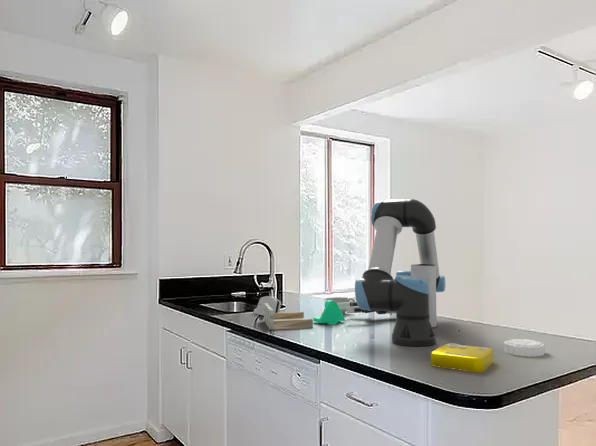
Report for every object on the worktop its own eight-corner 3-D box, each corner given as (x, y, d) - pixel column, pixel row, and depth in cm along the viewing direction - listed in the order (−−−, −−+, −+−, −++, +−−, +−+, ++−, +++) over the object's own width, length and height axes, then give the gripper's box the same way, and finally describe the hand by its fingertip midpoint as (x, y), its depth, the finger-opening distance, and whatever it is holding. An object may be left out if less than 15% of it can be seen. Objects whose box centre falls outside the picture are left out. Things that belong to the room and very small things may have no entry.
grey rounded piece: (252, 313, 255) (258, 293, 257) (260, 315, 258) (265, 296, 260) (270, 317, 241) (275, 296, 244) (277, 319, 244) (283, 299, 246)
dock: (312, 327, 211) (312, 308, 212) (270, 329, 208) (269, 310, 209) (303, 319, 233) (302, 302, 233) (264, 321, 230) (264, 303, 230)
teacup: (324, 315, 245) (324, 298, 246) (329, 311, 256) (329, 295, 256) (352, 315, 241) (352, 299, 242) (356, 312, 252) (356, 296, 252)
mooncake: (514, 347, 171) (514, 336, 171) (551, 352, 162) (551, 341, 162) (497, 352, 163) (497, 341, 163) (535, 359, 154) (534, 347, 154)
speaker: (439, 324, 214) (437, 263, 215) (435, 328, 205) (433, 264, 205) (414, 323, 219) (412, 262, 219) (408, 327, 209) (407, 264, 210)
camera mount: (335, 320, 229) (335, 298, 230) (344, 323, 223) (344, 299, 223) (312, 323, 224) (312, 299, 224) (321, 325, 217) (321, 301, 217)
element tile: (428, 367, 147) (428, 351, 147) (445, 356, 159) (445, 341, 160) (481, 374, 139) (481, 357, 139) (495, 362, 151) (494, 346, 151)
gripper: (397, 318, 219) (351, 320, 214) (374, 310, 244) (332, 312, 238) (397, 300, 220) (351, 303, 214) (374, 294, 244) (332, 296, 238)
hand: (341, 308), depth 226 cm, fingers open, 13 cm apart
